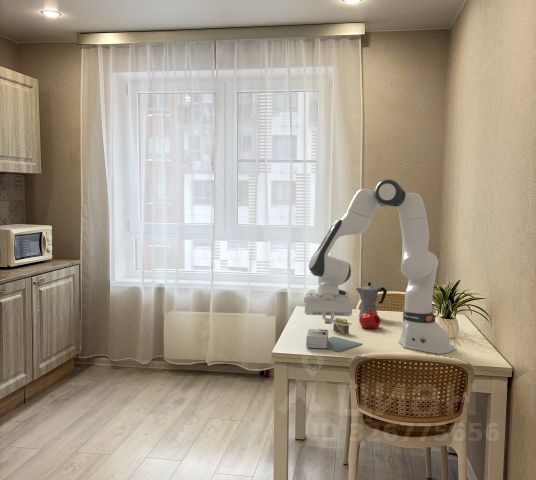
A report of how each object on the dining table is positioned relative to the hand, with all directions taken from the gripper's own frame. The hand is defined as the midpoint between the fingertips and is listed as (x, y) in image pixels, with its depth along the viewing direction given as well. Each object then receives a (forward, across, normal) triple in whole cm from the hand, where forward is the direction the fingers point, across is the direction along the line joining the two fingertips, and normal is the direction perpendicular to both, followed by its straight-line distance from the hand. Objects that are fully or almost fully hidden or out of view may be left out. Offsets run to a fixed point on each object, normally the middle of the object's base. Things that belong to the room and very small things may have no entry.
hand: (328, 323), depth 231 cm
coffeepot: (-28, +23, +40) cm, 54 cm away
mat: (+8, +3, +4) cm, 9 cm away
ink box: (+2, -4, +6) cm, 7 cm away
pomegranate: (-14, +20, +26) cm, 36 cm away
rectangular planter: (-6, +6, +19) cm, 21 cm away
